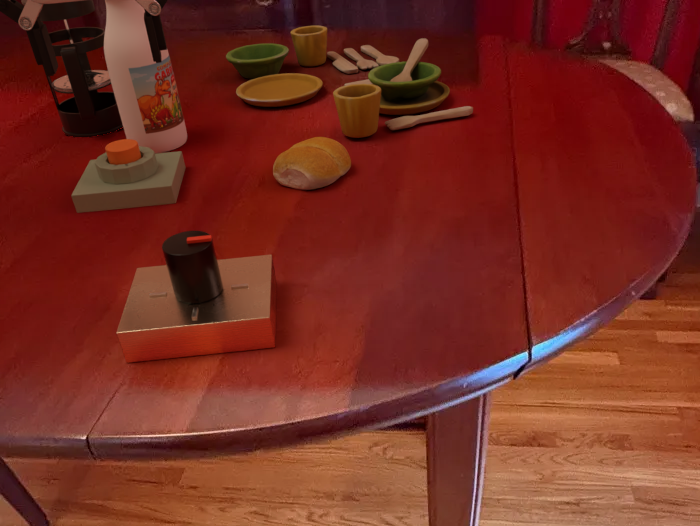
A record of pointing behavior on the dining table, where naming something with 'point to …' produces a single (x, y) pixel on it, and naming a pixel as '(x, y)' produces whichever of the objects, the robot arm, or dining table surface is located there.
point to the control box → (130, 182)
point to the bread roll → (312, 164)
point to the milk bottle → (141, 80)
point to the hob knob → (192, 266)
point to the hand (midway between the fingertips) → (106, 65)
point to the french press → (80, 74)
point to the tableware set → (353, 98)
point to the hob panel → (200, 313)
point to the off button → (123, 151)
